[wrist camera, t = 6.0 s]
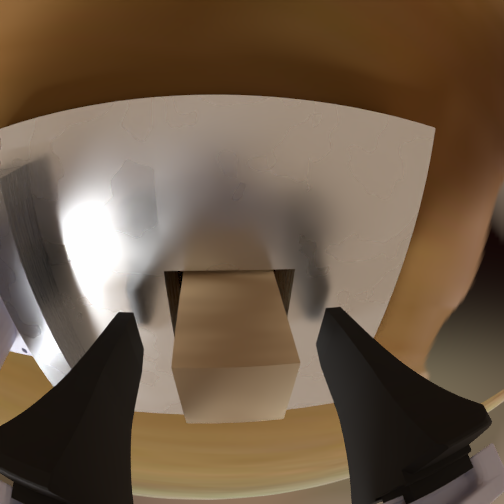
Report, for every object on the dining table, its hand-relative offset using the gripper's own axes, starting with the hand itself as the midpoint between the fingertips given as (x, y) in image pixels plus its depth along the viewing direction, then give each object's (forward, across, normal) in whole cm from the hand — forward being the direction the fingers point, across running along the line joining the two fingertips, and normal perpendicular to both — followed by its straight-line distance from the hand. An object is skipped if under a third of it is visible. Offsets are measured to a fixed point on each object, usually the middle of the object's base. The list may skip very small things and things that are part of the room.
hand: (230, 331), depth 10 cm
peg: (+4, 0, 0) cm, 4 cm away
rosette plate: (+4, +2, 0) cm, 4 cm away
